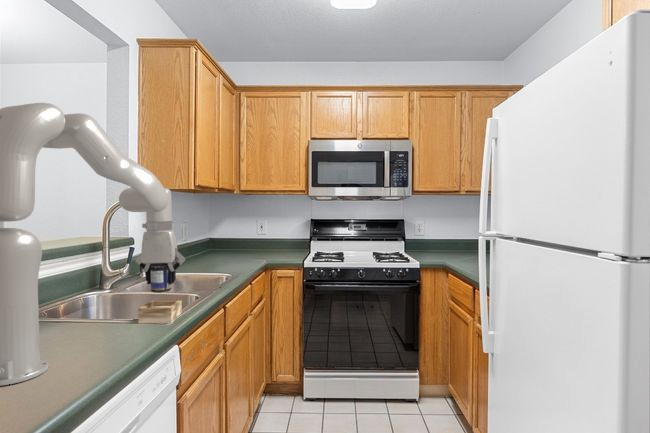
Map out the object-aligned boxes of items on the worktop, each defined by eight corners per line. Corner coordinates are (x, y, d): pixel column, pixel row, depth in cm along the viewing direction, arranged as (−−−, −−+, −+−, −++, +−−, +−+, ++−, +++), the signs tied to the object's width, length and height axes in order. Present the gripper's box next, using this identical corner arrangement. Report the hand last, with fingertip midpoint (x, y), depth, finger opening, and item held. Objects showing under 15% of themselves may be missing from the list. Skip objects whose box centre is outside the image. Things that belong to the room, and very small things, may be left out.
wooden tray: (171, 322, 126) (171, 308, 126) (138, 323, 126) (138, 308, 126) (181, 314, 136) (181, 300, 136) (151, 314, 136) (151, 300, 136)
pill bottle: (165, 287, 135) (164, 254, 135) (175, 290, 131) (174, 256, 131) (147, 291, 130) (146, 256, 130) (156, 294, 127) (156, 258, 126)
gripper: (126, 228, 126) (128, 286, 127) (183, 227, 126) (184, 285, 127) (137, 226, 133) (138, 281, 134) (190, 226, 134) (191, 280, 135)
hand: (161, 282), depth 131 cm, fingers closed on pill bottle, 6 cm apart
